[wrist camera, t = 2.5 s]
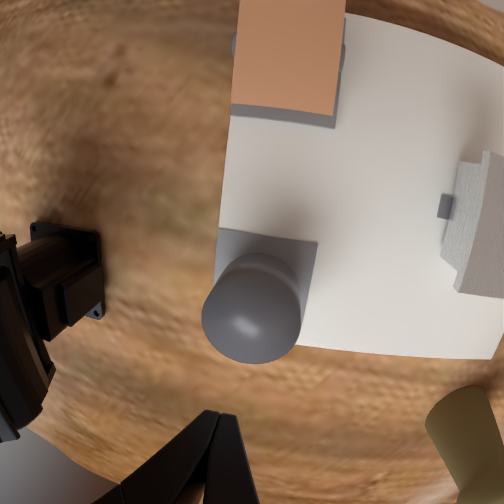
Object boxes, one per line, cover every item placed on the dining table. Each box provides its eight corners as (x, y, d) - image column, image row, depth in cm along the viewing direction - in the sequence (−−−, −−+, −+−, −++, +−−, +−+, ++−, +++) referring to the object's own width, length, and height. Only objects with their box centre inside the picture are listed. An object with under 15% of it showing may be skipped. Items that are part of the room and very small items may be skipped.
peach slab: (233, 100, 13) (225, 102, 12) (243, -3, 11) (236, -12, 9) (333, 113, 13) (337, 117, 11) (346, 8, 10) (351, 0, 9)
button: (215, 321, 16) (199, 354, 14) (221, 247, 15) (204, 269, 12) (292, 334, 16) (291, 370, 13) (307, 260, 15) (309, 286, 12)
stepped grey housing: (429, 264, 15) (458, 292, 11) (452, 149, 13) (490, 151, 10) (472, 271, 15) (505, 299, 11) (496, 164, 13) (537, 171, 9)
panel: (218, 313, 20) (207, 335, 18) (252, 15, 14) (244, -4, 12) (480, 344, 18) (494, 364, 16) (535, 97, 13) (558, 94, 10)
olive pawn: (475, 373, 19) (532, 476, 9) (492, 406, 20) (537, 495, 10) (414, 417, 21) (446, 529, 11) (438, 443, 22) (467, 538, 11)
